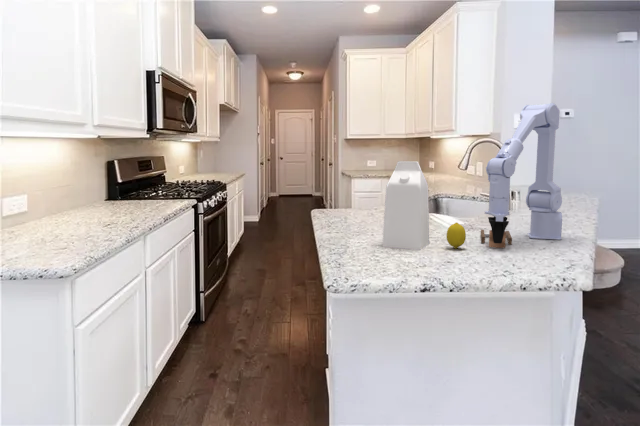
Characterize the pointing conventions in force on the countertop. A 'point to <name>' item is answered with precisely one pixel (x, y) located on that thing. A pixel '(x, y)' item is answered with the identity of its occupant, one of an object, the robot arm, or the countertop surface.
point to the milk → (406, 208)
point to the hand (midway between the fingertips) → (497, 241)
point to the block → (498, 245)
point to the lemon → (456, 235)
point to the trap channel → (508, 237)
